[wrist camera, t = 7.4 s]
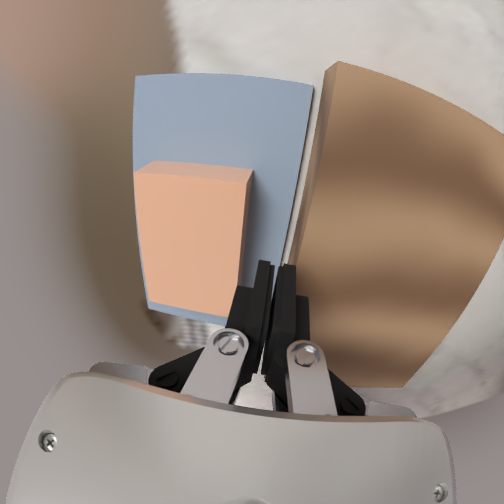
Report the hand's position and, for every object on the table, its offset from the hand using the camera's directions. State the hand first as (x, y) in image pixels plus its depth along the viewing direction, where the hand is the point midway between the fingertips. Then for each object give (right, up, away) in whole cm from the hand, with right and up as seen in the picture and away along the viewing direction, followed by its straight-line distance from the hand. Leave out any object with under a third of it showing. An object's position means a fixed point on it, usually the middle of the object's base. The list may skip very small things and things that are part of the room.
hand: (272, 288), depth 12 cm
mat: (-4, +4, +5) cm, 7 cm away
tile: (-4, +2, +4) cm, 6 cm away
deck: (+8, +2, +4) cm, 9 cm away
